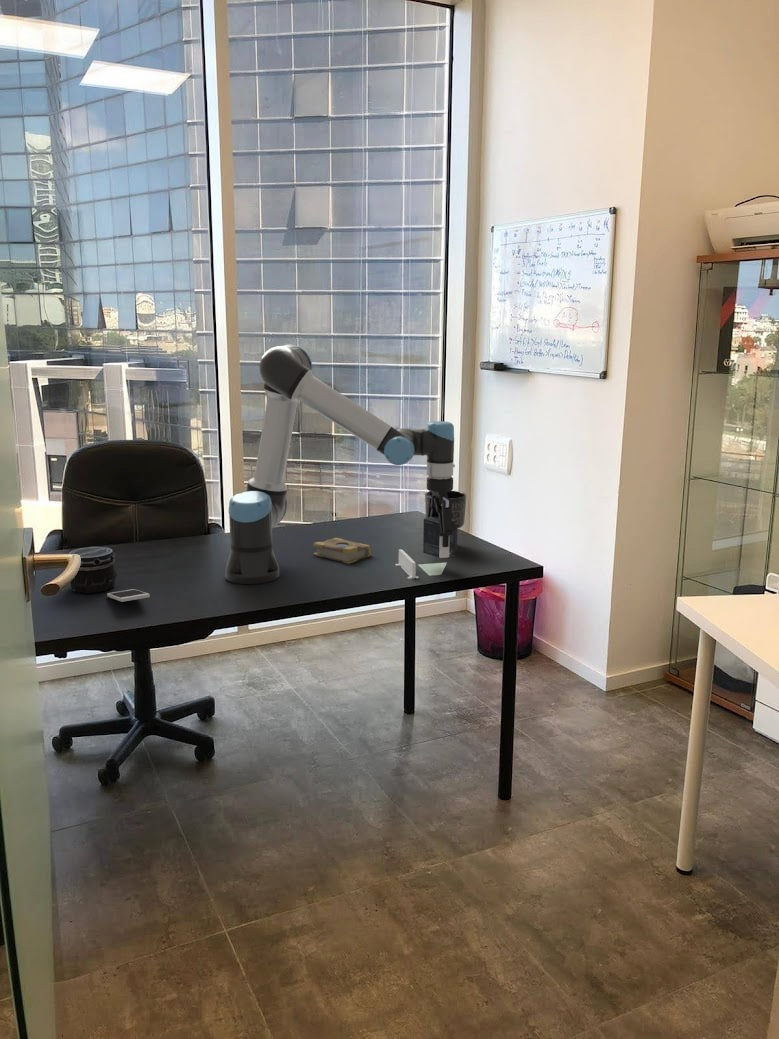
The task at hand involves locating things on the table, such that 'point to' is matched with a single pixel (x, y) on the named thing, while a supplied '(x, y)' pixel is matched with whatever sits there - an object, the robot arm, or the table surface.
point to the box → (436, 537)
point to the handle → (407, 564)
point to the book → (342, 550)
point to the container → (94, 570)
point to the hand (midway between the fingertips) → (438, 552)
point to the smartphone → (128, 595)
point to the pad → (433, 568)
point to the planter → (454, 509)
